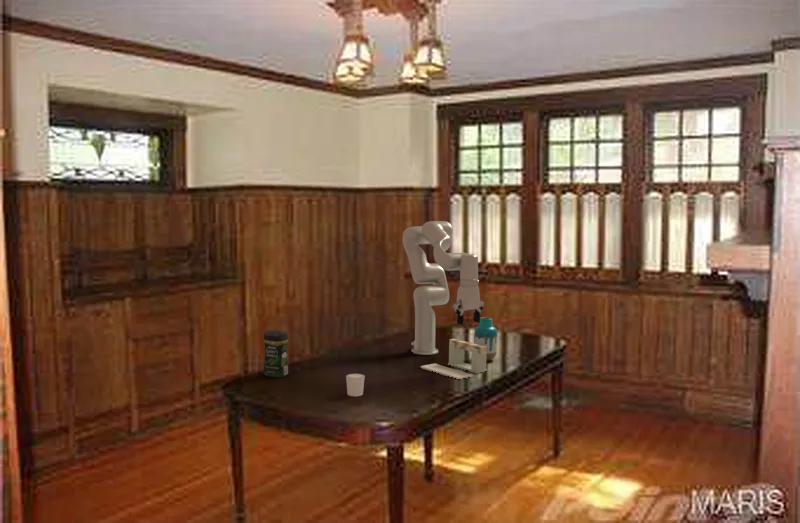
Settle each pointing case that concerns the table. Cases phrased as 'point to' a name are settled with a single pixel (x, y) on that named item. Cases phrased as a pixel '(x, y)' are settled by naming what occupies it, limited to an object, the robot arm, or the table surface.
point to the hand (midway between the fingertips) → (468, 323)
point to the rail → (469, 346)
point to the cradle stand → (457, 361)
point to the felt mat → (446, 371)
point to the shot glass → (355, 384)
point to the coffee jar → (275, 353)
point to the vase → (486, 337)
